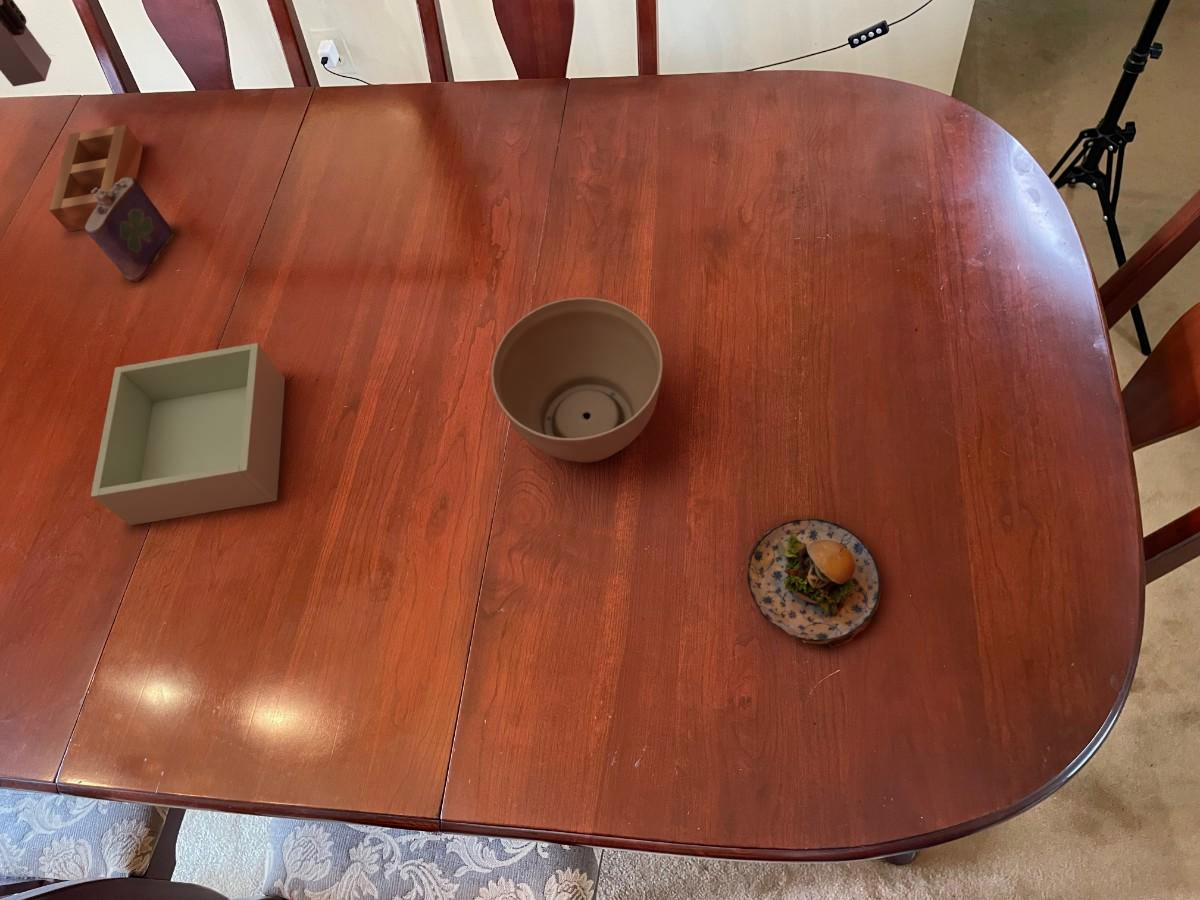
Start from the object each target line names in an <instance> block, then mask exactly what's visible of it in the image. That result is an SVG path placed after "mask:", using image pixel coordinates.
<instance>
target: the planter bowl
mask: <svg viewBox="0 0 1200 900" xmlns="http://www.w3.org/2000/svg"><path fill="white" fill-rule="evenodd" d="M661 348H662V347H661V346H660V343H659V341H658V339H657V336H656V335H655V333H654V331H653V329H652V328H651V327H650V325H648V323H647V322H646V321H645V320H644V319H643V318H642V317H640V316H639V315H638V314H637V313H635V312H634V311H633V310H631V309H630V308H628V307H626V306H623V305H622V304H619V303H617V302H614V301H612V300H608V299H603V298H597V297H583V296H581V297H570V298H563V299H559V300H554V301H551V302H547V303H546V304H544V305H541V306H538V307H537V308H535V309H533V310H532V311H529V312H528V313H527V314H525V315H524V316H522V317H521V318H519V319H518V320H517V321H516V322H515V323H514V324H513V325H512V326H511V327H510V328H509V329H508V330H507V331H506V332H505V334H504V335H503V336H502V338H501V340H500V342H499V343H498V345H497V347H496V349H495V352H494V355H493V358H492V360H491V361H492V362H491V370H490V376H491V377H490V378H491V379H490V381H491V387H492V391H493V394H494V397H495V399H496V401H497V404H498V405H499V408H500V409H501V410H502V412H503V413H504V415H505V416H506V417H507V419H508V420H509V422H510V424H511V426H512V427H513V428H514V429H515V431H516V432H517V433H518V434H519V435H520V436H521V437H522V438H523V439H524V440H525V441H526V442H527V443H528V444H530V445H531V446H532V447H534V448H535V449H537V450H538V451H540V452H542V453H544V454H545V455H548V456H550V457H553V458H556V459H559V460H563V461H569V462H576V463H596V462H599V461H602V460H605V459H608V458H610V457H611V456H613V455H615V454H616V453H618V452H620V451H621V450H623V449H624V448H626V447H627V446H628V445H630V444H631V443H632V442H633V441H634V440H635V439H636V438H637V437H638V436H639V435H640V434H641V433H642V431H643V430H644V429H645V427H646V426H647V424H648V422H650V419H651V417H652V415H653V413H654V411H655V408H656V405H657V402H658V398H659V394H660V388H661V383H662V379H663V371H664V370H663V369H664V363H663V362H664V360H663V354H662V353H663V352H662V349H661ZM585 414H589V418H585V416H584V415H585Z"/></svg>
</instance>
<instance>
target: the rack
mask: <svg viewBox="0 0 1200 900" xmlns="http://www.w3.org/2000/svg"><path fill="white" fill-rule="evenodd" d="M143 148H144V147H143V145H142V144H141V142H139V140H138V139H137V137H136V136H135V134H134V133H133V132H132V130H131V129H130V127H129V126H128V125H127V123H125V124H121V125H115V126H109V127H103V128H98V129H92V130H87V131H82V132H75V133H69V134H68V137H67V142H66V144H65V148H64V152H63V156H62V159H61V163H60V167H59V171H58V175H57V178H56V181H55V185H54V190H53V193H52V197H51V200H50V204H49V208H48V211H49V212H50V213H51V214H52V215H53V216H54V217H55V219H56V220H57V221H58V222H59V223H60V224H61V225H62V226H63V227H64V229H65V230H66V231H67V232H68V233H72V232H78V231H83V230H85V225H86V223H87V221H88V219H89V218H90V216H91V214H92V212H93V211H94V209H95V208H96V206H97V204H98V203H97V198H96V197H95V196H94V195H95V193H96V192H97V191H98V190H99V189H100V188H101V190H102V191H104V192H106V191H109V190H110V189H111V188H113V186H114V184H115V183H116V182H118V181H119V180H120V179H122V178H128V177H129V178H134V179H136V180H137V179H138V178H137V177H138V174H139V170H140V169H139V168H140V164H141V158H142V155H143V154H142V153H143ZM94 188H98V189H97V190H96V191H95V193H91V191H92V190H93V189H94ZM90 195H92V197H90Z"/></svg>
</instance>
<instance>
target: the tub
mask: <svg viewBox="0 0 1200 900" xmlns="http://www.w3.org/2000/svg"><path fill="white" fill-rule="evenodd" d="M285 384H286V378H285V376H284V374H282V372H281V371H280V370H279V369H278V367H277V366H276V364H275V363H274V361H272V359H271V358H270V356H269V355H268V354H267V352H266V351H265V350H264V349H263V347H262V345H260V344H259V342H253V343H248V344H243V345H242V344H241V345H236V346H232V347H225V348H218V349H213V350H207V351H201V352H196V353H191V354H184V355H180V356H179V355H178V356H172V357H167V358H162V359H154V360H151V361H145V362H138V363H133V364H127V365H121V366H116V367H115V368H114V372H113V377H112V382H111V388H110V393H109V396H108V397H109V399H108V402H107V409H106V415H105V419H104V423H103V429H102V434H101V439H100V446H99V449H98V450H99V451H98V456H97V461H96V466H95V471H94V477H93V482H92V485H91V486H92V487H91V493H90V498H92V499H93V500H95V501H96V502H97V503H99V504H100V505H102V506H103V507H104V508H106V509H108V510H109V511H110V512H112V513H113V514H114V515H116V516H118V517H119V518H120V519H122V520H123V521H125V522H126V523H127V524H128V525H130V526H135V525H141V524H147V523H152V522H158V521H165V520H171V519H176V518H182V517H189V516H194V515H200V514H207V513H211V512H218V511H225V510H230V509H236V508H242V507H247V506H253V505H260V504H266V503H271V502H276V501H277V502H278V491H279V478H280V477H279V476H280V460H281V446H282V430H283V415H284V401H285Z"/></svg>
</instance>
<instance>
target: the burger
mask: <svg viewBox="0 0 1200 900" xmlns="http://www.w3.org/2000/svg"><path fill="white" fill-rule="evenodd" d="M746 577H747V578H746V579H747V583H748V588H749V592H750V595H751V596H752V598H753V601H754V602H755V604H756V606H757V608H758V610H759V612H760V613H761V615H762V616H763V617H764V619H766V620H767V621H769V622H770V623H772V624H773V625H774V626H776V627H777V628H779V629H781V631H783V632H784V633H785V634H787V635H788V636H790V637H793V638H796V639H798V640H800V641H802V642H803V643H804V644H810V645H826V644H827V645H829V647H830V648H833V649H834V648H836V647H839V646H841V645H843V644H847V643H850V642H851V641H852V640H853V638H854V637H855V636H856V635H857V634H858V633H860V632H861V631H864V630H865V629H866V628H867V627H868V626H869V625H870V624H871V622H872V620H873V619H874V616H875V615H876V614H877V613H876V612H877V610H878V607H879V604H880V599H881V593H882V579H881V573H880V567H879V565H878V562H877V561H876V559H875V556H874V554H873V551H872V550H871V548H869V547H868V546H867V544H866V543H865V541H863V539H862V538H860V537H859V536H858V535H856V534H855V533H854V532H852V531H851V530H850V529H848V528H846V527H844V526H842V525H840V524H838V523H836V522H834V521H829V520H826V519H821V518H813V517H811V518H810V517H809V518H799V519H798V518H797V519H793V520H789V521H786V522H783V523H781V524H779V525H777V526H775V527H773V528H772V529H770V530H768V531H767V532H766V533H765V534H764V535H763V536H762V537H761V538H760V539H759V540H757V541H756V543H755V544H754V546H753V548H752V549H751V551H750V553H749V556H748V559H747V574H746Z"/></svg>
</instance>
